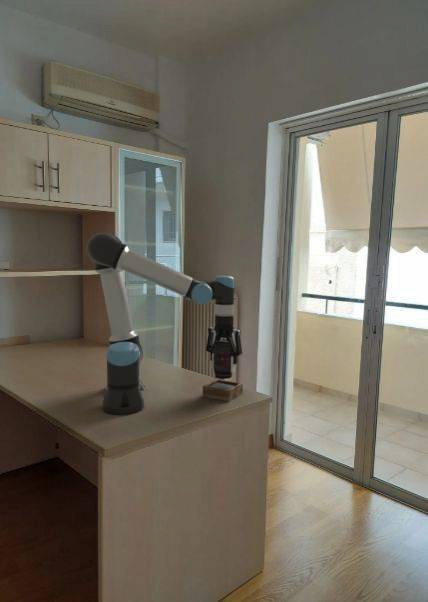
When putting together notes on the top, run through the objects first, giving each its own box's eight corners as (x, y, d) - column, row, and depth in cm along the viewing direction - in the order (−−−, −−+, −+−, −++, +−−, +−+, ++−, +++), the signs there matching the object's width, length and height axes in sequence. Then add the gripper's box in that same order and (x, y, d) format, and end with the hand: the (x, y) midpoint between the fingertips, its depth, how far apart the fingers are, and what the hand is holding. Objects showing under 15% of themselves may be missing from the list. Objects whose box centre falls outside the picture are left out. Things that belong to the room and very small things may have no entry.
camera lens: (231, 380, 176) (232, 342, 174) (211, 378, 177) (212, 341, 176) (235, 374, 183) (235, 339, 182) (215, 373, 185) (216, 338, 183)
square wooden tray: (229, 401, 173) (229, 391, 173) (202, 396, 179) (202, 386, 178) (242, 393, 184) (242, 383, 183) (216, 388, 189) (217, 379, 189)
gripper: (252, 315, 176) (250, 371, 178) (206, 311, 186) (205, 365, 188) (244, 317, 169) (242, 376, 172) (197, 313, 179) (196, 369, 182)
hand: (223, 370), depth 180 cm, fingers closed on camera lens, 8 cm apart
